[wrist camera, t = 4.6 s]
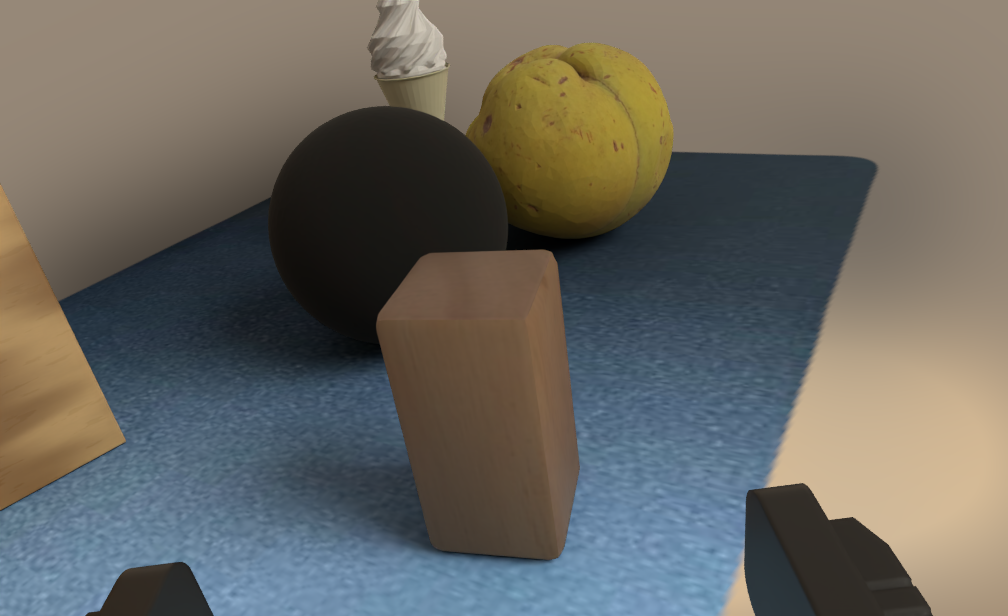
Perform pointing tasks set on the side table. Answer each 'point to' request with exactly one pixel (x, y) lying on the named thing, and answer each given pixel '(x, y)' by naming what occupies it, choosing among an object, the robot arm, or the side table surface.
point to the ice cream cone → (409, 58)
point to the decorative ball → (377, 210)
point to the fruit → (574, 138)
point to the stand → (42, 378)
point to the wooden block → (485, 399)
